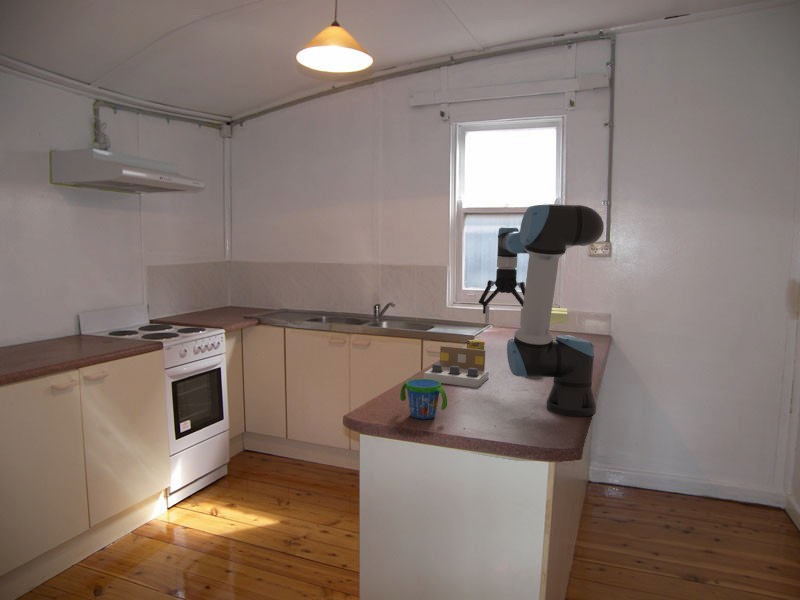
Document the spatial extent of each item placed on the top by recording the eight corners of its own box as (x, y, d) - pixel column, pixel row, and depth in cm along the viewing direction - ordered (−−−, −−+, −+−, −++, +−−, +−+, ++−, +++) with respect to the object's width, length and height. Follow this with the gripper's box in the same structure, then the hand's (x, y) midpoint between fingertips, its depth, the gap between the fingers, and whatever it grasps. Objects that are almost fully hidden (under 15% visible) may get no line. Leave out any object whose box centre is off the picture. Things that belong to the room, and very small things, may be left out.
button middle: (457, 377, 206) (458, 368, 206) (448, 376, 208) (448, 367, 207) (460, 375, 210) (460, 366, 209) (451, 374, 211) (451, 365, 211)
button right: (476, 379, 204) (476, 370, 203) (466, 378, 205) (466, 369, 205) (478, 377, 207) (478, 368, 207) (469, 376, 208) (469, 367, 208)
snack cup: (391, 413, 167) (392, 380, 166) (414, 407, 174) (415, 375, 173) (431, 426, 156) (432, 391, 155) (454, 418, 164) (455, 384, 163)
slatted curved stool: (536, 337, 316) (538, 306, 314) (565, 339, 311) (567, 308, 310) (533, 346, 287) (535, 312, 285) (565, 349, 283) (567, 314, 281)
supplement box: (470, 367, 233) (471, 342, 232) (465, 364, 239) (466, 339, 238) (483, 367, 235) (484, 341, 233) (478, 364, 240) (479, 339, 239)
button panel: (478, 387, 200) (479, 357, 199) (423, 380, 208) (424, 351, 207) (488, 378, 215) (489, 350, 214) (437, 372, 223) (438, 345, 222)
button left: (439, 375, 209) (440, 366, 209) (430, 374, 210) (431, 365, 210) (442, 373, 212) (443, 364, 212) (433, 372, 214) (434, 363, 213)
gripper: (542, 269, 208) (539, 325, 210) (477, 266, 218) (475, 320, 220) (538, 270, 201) (535, 327, 203) (472, 267, 211) (469, 322, 213)
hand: (504, 324), depth 211 cm, fingers open, 13 cm apart
